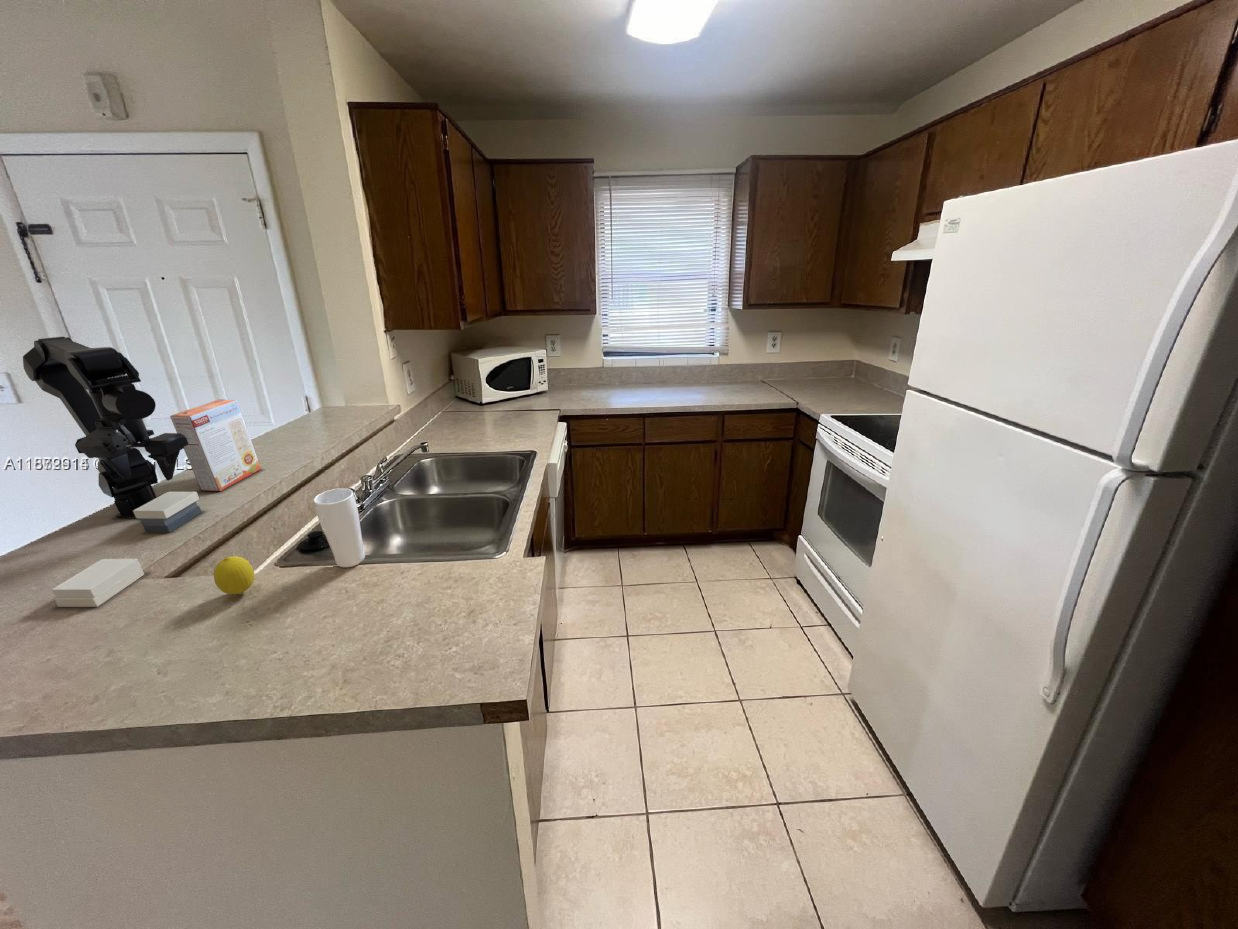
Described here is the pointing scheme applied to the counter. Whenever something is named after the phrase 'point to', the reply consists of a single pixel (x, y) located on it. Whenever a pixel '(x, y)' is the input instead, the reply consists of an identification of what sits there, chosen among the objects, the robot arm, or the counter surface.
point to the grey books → (171, 520)
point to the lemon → (233, 575)
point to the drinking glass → (341, 525)
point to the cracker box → (217, 444)
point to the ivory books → (97, 583)
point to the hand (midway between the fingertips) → (148, 479)
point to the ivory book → (166, 505)
